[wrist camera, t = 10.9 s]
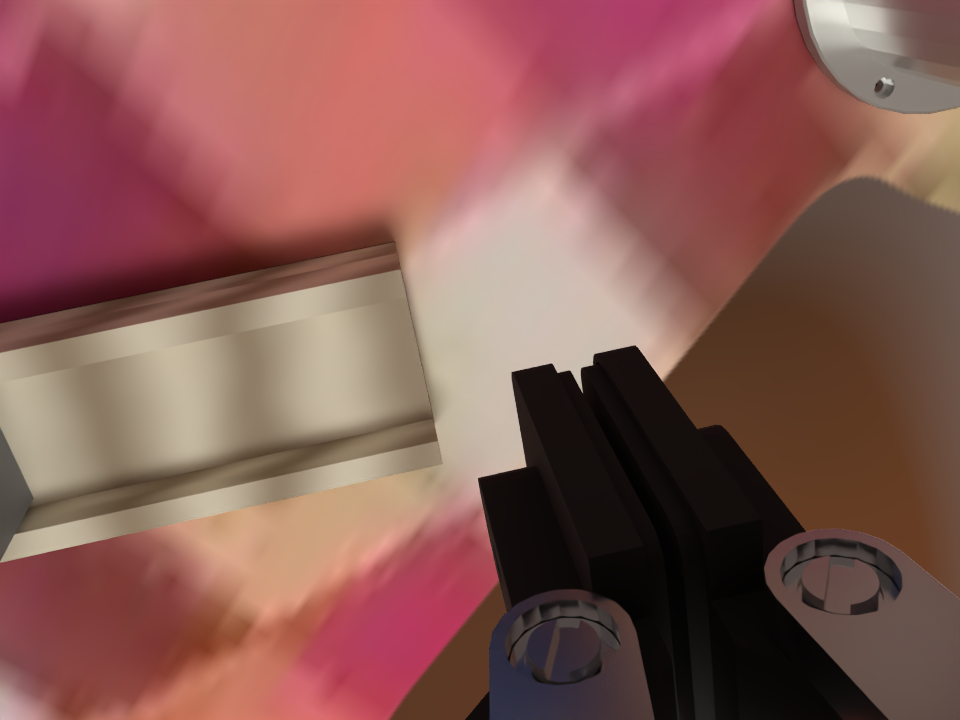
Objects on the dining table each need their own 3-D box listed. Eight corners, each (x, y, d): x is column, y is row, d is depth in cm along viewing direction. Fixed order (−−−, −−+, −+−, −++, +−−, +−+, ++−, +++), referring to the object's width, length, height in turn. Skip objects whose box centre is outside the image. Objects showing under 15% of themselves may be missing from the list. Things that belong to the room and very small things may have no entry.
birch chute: (394, 241, 38) (400, 269, 35) (434, 425, 43) (442, 463, 39) (-229, 370, 37) (-281, 411, 34) (-125, 547, 41) (-163, 598, 38)
